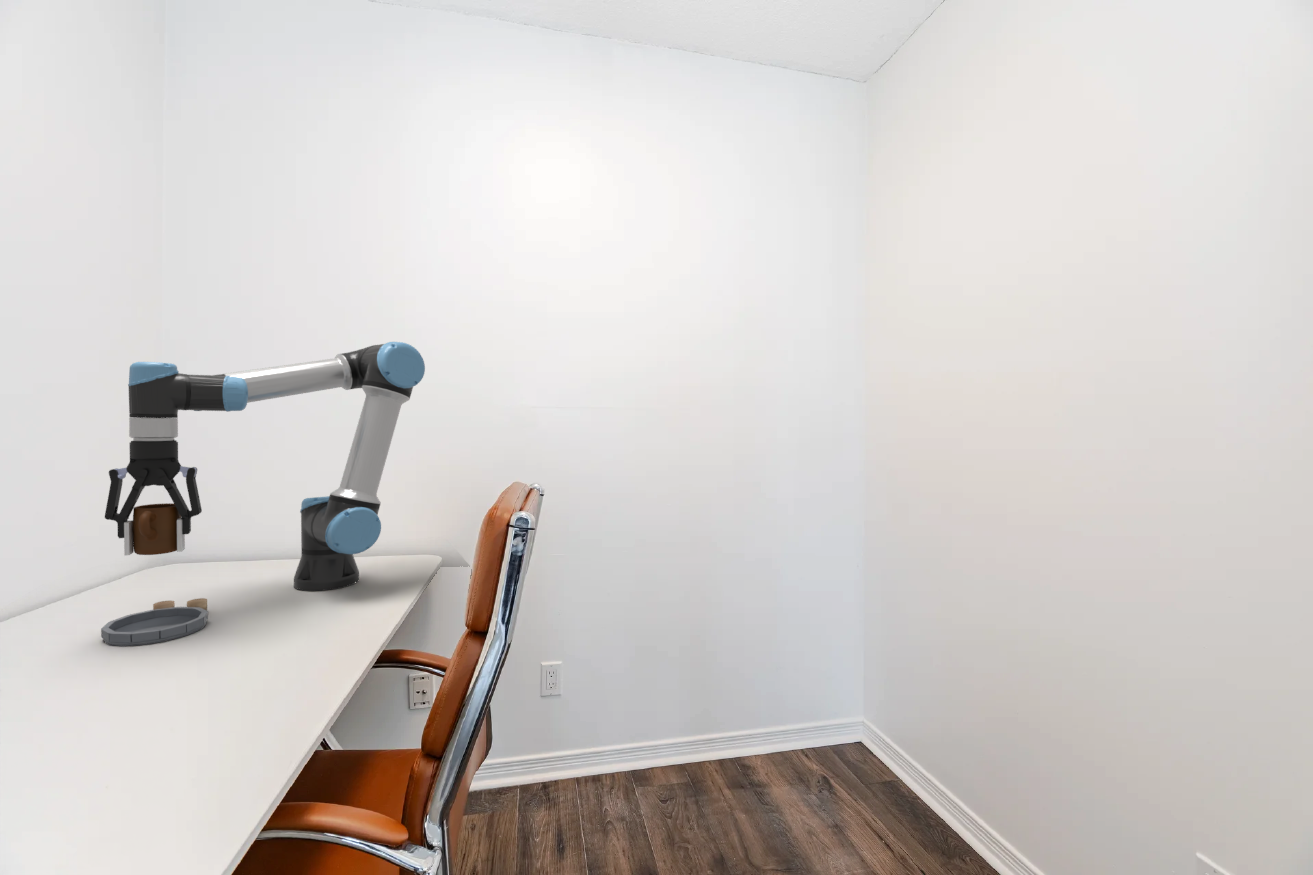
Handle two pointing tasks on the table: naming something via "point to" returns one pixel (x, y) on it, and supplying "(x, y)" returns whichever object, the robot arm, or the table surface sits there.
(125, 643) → the saucer
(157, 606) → the bead
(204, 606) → the bead
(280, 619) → the table surface
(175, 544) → the mug
